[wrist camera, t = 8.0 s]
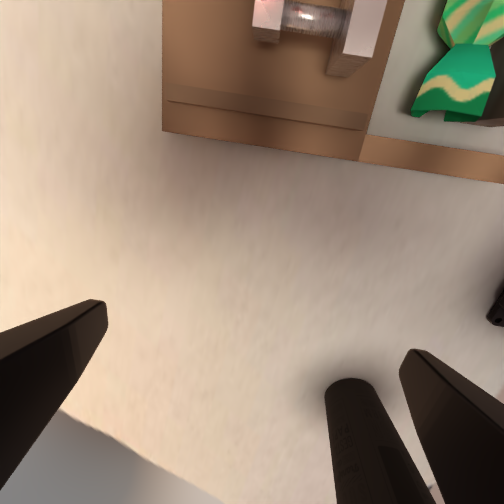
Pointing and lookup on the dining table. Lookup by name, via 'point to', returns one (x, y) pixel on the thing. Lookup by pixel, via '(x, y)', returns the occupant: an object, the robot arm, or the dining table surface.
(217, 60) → the wooden vise
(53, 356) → the robot arm
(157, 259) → the dining table surface
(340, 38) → the lever
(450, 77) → the candy
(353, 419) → the drinking cup
